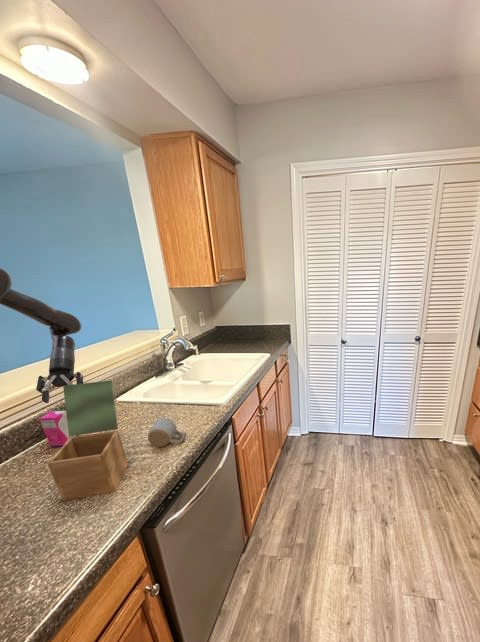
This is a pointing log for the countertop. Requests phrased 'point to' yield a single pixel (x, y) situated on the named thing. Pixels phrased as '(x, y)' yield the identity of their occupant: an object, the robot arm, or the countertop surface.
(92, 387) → the lid
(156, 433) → the ceramic mug
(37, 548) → the countertop surface
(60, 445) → the supplement box
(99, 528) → the countertop surface
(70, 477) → the chest
